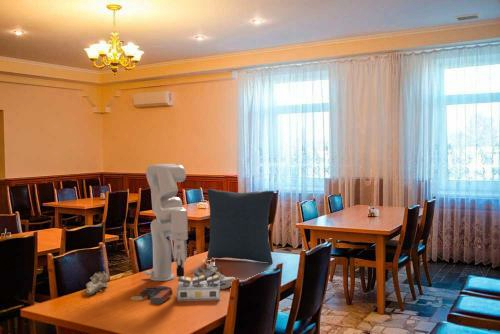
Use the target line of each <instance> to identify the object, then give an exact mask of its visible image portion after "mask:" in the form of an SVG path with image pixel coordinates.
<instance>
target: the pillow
mask: <svg viewBox="0 0 500 334" xmlns="http://www.w3.org/2000/svg"><path fill="white" fill-rule="evenodd" d="M206 192H207V198H208V206H209V223H210V227H209V245H208V250H207V255H206V256H207V259H236V260H245V261H246V260H247V261H248V260H249V261H254V262H259V263H268V264H270V263H272V264H273V263H274V262H273V257H272V250H271V245H270V242H269V217H270V207H271V206H270V205H271V202H272V199H273V196H274V194H275V190H264V191H261V192H259V191H258V192H257V191H256V192H255V191H254V192H253V191H252V192H250V191H249V192H234V191H225V190H216V189H212V188H207V190H206ZM212 257H213V258H212Z"/></svg>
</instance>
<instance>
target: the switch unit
mask: <svg viewBox="0 0 500 334" xmlns="http://www.w3.org/2000/svg"><path fill="white" fill-rule="evenodd" d="M220 298H221V289H220V280H218V281H215V282H211V283H208V284H207V280H205V281H202V282H198V283H195V284H193V282H192V280H191V282H190V284H188V283H183V282H179V281H178V283H177V286H176V302H205V301H207V302H208V301H211V302H212V301H220V300H221V299H220Z"/></svg>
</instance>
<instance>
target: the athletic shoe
mask: <svg viewBox="0 0 500 334" xmlns="http://www.w3.org/2000/svg"><path fill="white" fill-rule="evenodd" d="M202 275H205V280H207V278H208V277H211V276H212V277H213V276H215V275H219V280H220V290H226V289H229V288H230V286H231V282H232V281H233V280H234V279H236V277H234V276H225V275H223V274H222V273H221V272H219V270H218V268H217V267H216V266H213V264H212V263H209V264H208V265H206V267H205V269H202V267H201V266H199V267H196V268H194V269H193V276H192V279H193V278H195V277H199V276H202ZM231 287H232V286H231Z"/></svg>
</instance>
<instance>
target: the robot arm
mask: <svg viewBox="0 0 500 334" xmlns="http://www.w3.org/2000/svg"><path fill="white" fill-rule="evenodd" d="M145 176H146V181H147V183H148V185H149V188H150V194H151V208H152V213H153V214H154V215H155V216H156V217H155V218H156V219H153V220H152V221H151V223H150V233H151V240H152V241H151V242H152V269H151V270H145V271H144V275H146V276H149V277H150V279H149V280H151V281H154V282H165V281H166V282H167V281H171V280H173V279H175V278H176V277H178V278H179V277H183V276H184V277H185V267H184V263H185V262H186V261H187V259H188V257H187V256H188V255H187V252H188V251H187V240H188V239H189V231H188V228H189V227H188V225H189V224H188V222H189V220H188V219H189V217H188V210H187V209H186V208H185V207H183V206H184V205H183V201H182V199H181V198H180V197H178V196H176V195H177V194H178V193H179V188H178V187H179V186H178V184H177V183H182V182H184V181H185V180H186V178H187V172H186V169H185V167H184V166H183V165H182V164H178V163H156V164H151V165H150V164H149V165H148V166H147V167H146V171H145ZM168 237H170V238H171V241H173V256H174V257H173V258H174V262H175V263H176V277H175V274H174V273H172V244H171V242H170V240H169V239H167V238H168Z"/></svg>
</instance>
